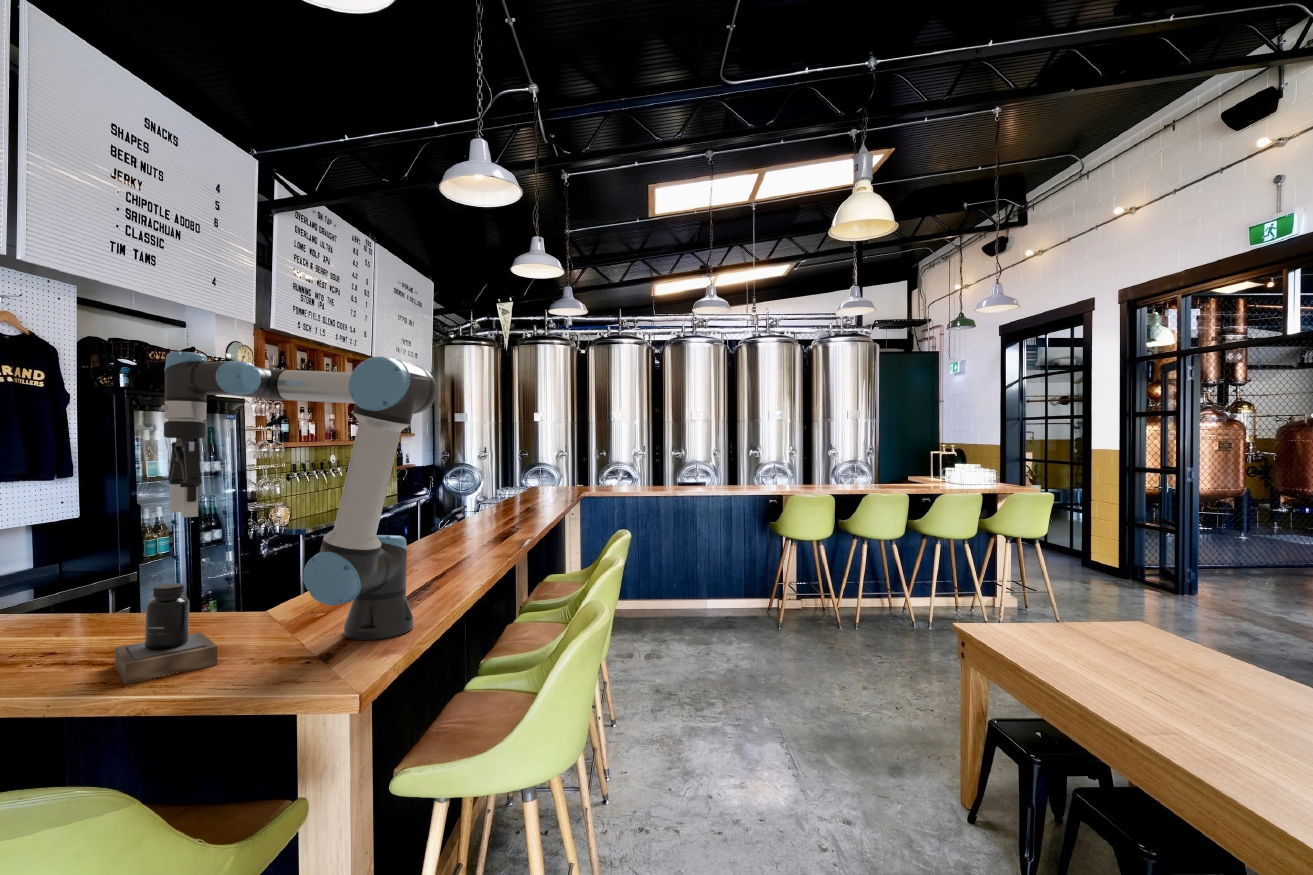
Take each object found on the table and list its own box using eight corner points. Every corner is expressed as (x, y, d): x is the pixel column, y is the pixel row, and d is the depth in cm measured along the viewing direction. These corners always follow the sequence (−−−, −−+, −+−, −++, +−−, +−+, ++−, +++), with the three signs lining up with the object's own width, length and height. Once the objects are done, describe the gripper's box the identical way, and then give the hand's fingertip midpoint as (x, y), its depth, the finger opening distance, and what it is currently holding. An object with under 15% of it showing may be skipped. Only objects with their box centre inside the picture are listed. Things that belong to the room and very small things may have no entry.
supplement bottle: (144, 653, 116) (145, 591, 116) (145, 644, 121) (146, 585, 121) (189, 646, 120) (190, 586, 120) (188, 637, 125) (189, 580, 126)
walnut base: (200, 649, 130) (201, 630, 131) (217, 664, 121) (217, 644, 121) (114, 666, 120) (115, 646, 120) (125, 684, 111) (125, 662, 111)
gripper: (153, 421, 142) (151, 511, 141) (175, 418, 125) (173, 520, 124) (193, 422, 147) (191, 509, 147) (219, 420, 130) (217, 517, 130)
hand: (183, 514), depth 136 cm, fingers open, 13 cm apart
